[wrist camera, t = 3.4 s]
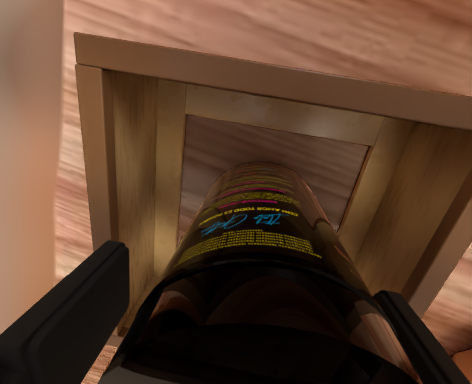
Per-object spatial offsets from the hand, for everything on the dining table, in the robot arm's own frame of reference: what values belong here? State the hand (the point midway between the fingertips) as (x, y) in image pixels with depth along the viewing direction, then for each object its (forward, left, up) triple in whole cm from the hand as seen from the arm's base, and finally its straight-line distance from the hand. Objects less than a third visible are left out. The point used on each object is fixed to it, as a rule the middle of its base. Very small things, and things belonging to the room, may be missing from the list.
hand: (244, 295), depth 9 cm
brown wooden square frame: (-1, 0, -6) cm, 6 cm away
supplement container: (-1, 0, -6) cm, 6 cm away
